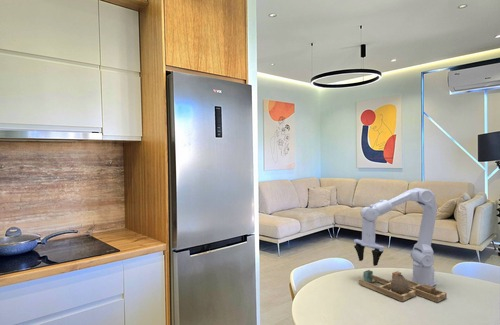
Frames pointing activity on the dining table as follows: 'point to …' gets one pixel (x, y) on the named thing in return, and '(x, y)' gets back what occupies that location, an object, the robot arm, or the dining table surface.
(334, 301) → the dining table surface
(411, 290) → the tray
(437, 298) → the frame
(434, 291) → the walnut cube
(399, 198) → the robot arm
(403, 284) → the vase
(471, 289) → the dining table surface
